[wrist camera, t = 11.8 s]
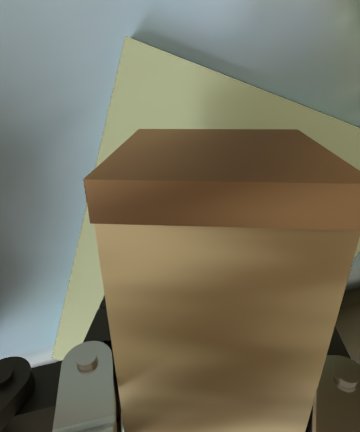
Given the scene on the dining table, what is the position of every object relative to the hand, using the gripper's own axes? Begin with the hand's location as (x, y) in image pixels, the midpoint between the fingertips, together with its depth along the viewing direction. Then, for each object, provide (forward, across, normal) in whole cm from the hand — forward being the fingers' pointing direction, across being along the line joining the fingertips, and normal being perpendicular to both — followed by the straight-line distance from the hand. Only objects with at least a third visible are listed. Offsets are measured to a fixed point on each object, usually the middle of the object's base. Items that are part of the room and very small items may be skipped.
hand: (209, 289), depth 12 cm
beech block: (-2, 0, +7) cm, 8 cm away
